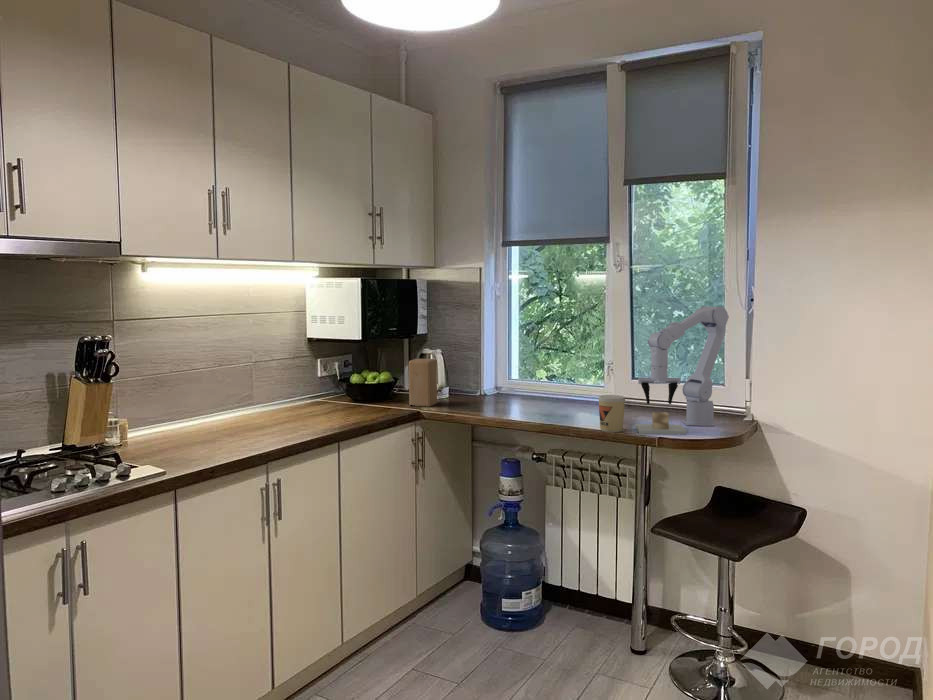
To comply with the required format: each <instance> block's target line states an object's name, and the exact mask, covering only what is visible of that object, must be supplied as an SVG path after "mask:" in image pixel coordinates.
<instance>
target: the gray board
mask: <svg viewBox="0 0 933 700" xmlns="http://www.w3.org/2000/svg"><path fill="white" fill-rule="evenodd" d="M634 427H636V428H635V429H636V431H637V432H639V433H638V434H639V435H676V434H688V431H687V429H686V428H684V427H683V426H682V425H681V424H669V429H654V428H653V426H652V423H649V424H648V423H635V425H634Z"/></svg>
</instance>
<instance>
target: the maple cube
mask: <svg viewBox="0 0 933 700" xmlns="http://www.w3.org/2000/svg"><path fill="white" fill-rule="evenodd" d="M651 415H652V418H651V419H652V420H651V421H652V422H651V424H652V426H653V428H654V429H669V425H670V420H669V419H670V417H669V416H670V415H669V413H668V412H666V411H665V412H662V411H658V412H657V411H656V412H655V411H652V414H651Z"/></svg>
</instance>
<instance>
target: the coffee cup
mask: <svg viewBox="0 0 933 700" xmlns="http://www.w3.org/2000/svg"><path fill="white" fill-rule="evenodd" d="M598 397H599V398H597V399H598V411H599V428H600V431H601V430H602V432H605V433H620V431H621V432H622V431H623V428H624V427H623V426H624V415H625V406H626V403H625V402H626V398H625V396H624V395H620V394H619V395H617V394H603V395H599V396H598Z"/></svg>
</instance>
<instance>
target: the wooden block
mask: <svg viewBox="0 0 933 700" xmlns="http://www.w3.org/2000/svg"><path fill="white" fill-rule="evenodd" d="M437 363H438V361H437V359H436V358H415V359H411V360H409V361H408V395H409V396H408V401H409V402H408V403H409V406H410V405H415V406H414V407H418V406H428V407H427V408H430V407H432V406H434V405H436V404H438V366H437V365H438V364H437ZM429 406H430V407H429Z"/></svg>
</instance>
